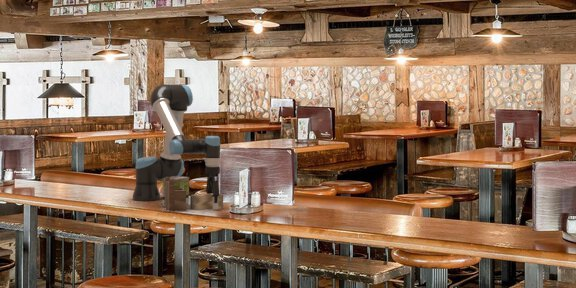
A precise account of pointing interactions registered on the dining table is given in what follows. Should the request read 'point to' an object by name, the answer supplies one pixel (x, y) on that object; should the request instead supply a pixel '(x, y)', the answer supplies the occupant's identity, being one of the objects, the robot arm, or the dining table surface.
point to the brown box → (174, 196)
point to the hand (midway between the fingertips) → (212, 207)
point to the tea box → (178, 183)
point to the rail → (204, 201)
